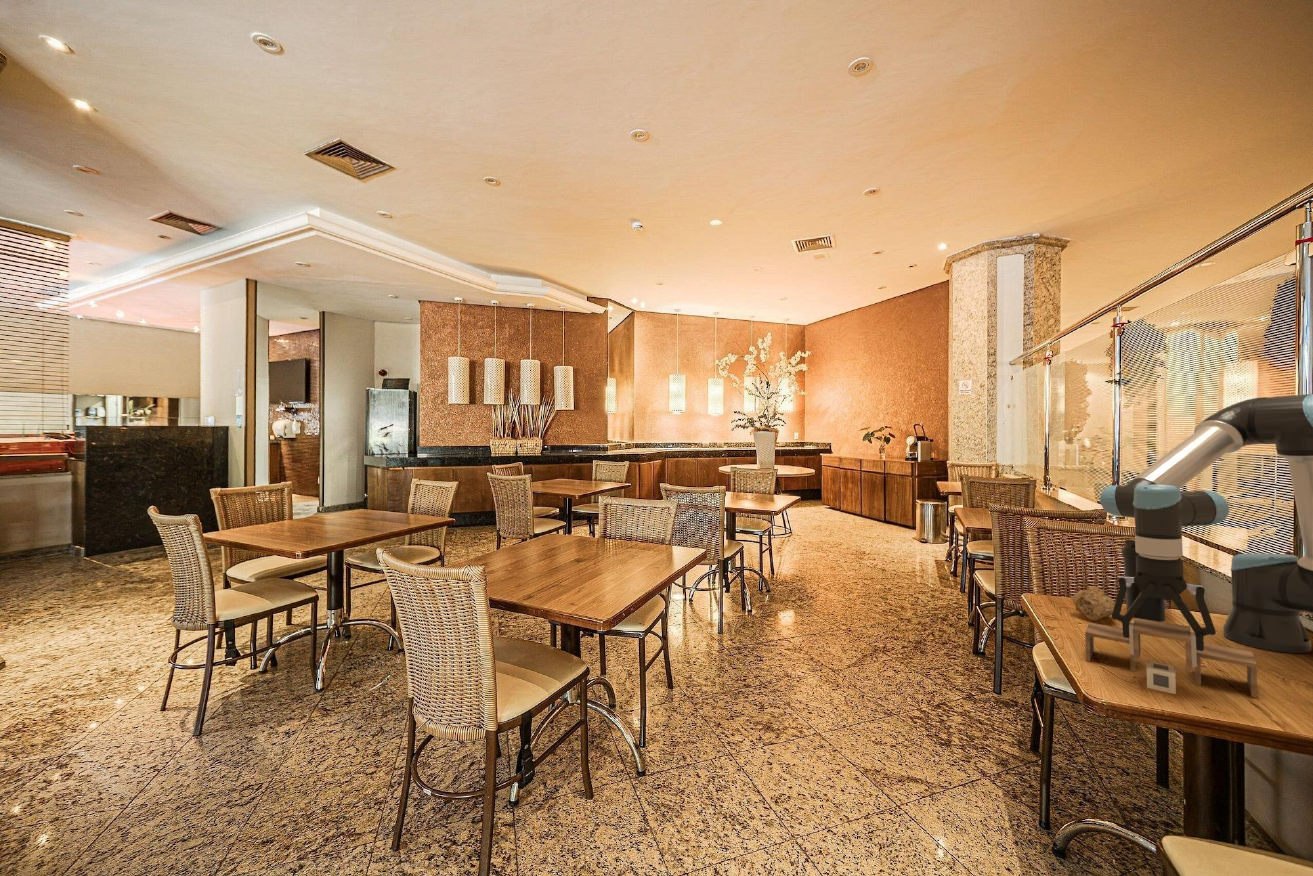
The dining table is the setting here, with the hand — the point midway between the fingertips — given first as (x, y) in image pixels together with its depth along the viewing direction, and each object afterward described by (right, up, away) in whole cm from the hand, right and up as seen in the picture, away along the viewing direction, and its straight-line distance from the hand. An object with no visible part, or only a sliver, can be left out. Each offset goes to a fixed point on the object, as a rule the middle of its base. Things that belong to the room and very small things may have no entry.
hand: (1162, 658), depth 116 cm
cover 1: (+1, -6, +14) cm, 15 cm away
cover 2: (0, 0, 0) cm, 0 cm away
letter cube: (0, -6, 0) cm, 6 cm away
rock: (+21, -6, +42) cm, 47 cm away
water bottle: (+36, -6, +44) cm, 57 cm away
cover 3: (+15, -6, +1) cm, 16 cm away
